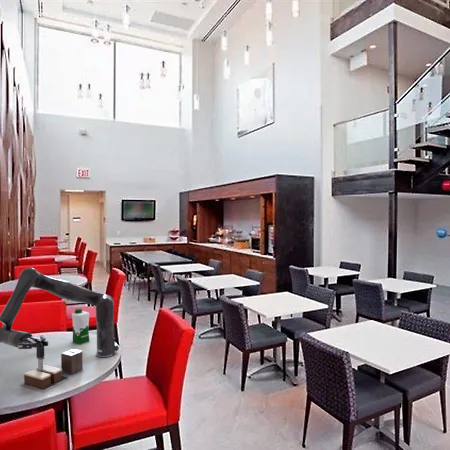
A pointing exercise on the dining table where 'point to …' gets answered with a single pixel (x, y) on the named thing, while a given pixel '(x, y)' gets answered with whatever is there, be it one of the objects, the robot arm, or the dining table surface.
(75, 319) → the milk carton
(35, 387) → the cake board
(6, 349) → the dining table surface
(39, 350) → the knife
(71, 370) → the knife block
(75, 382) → the dining table surface
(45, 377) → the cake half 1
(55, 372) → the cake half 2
